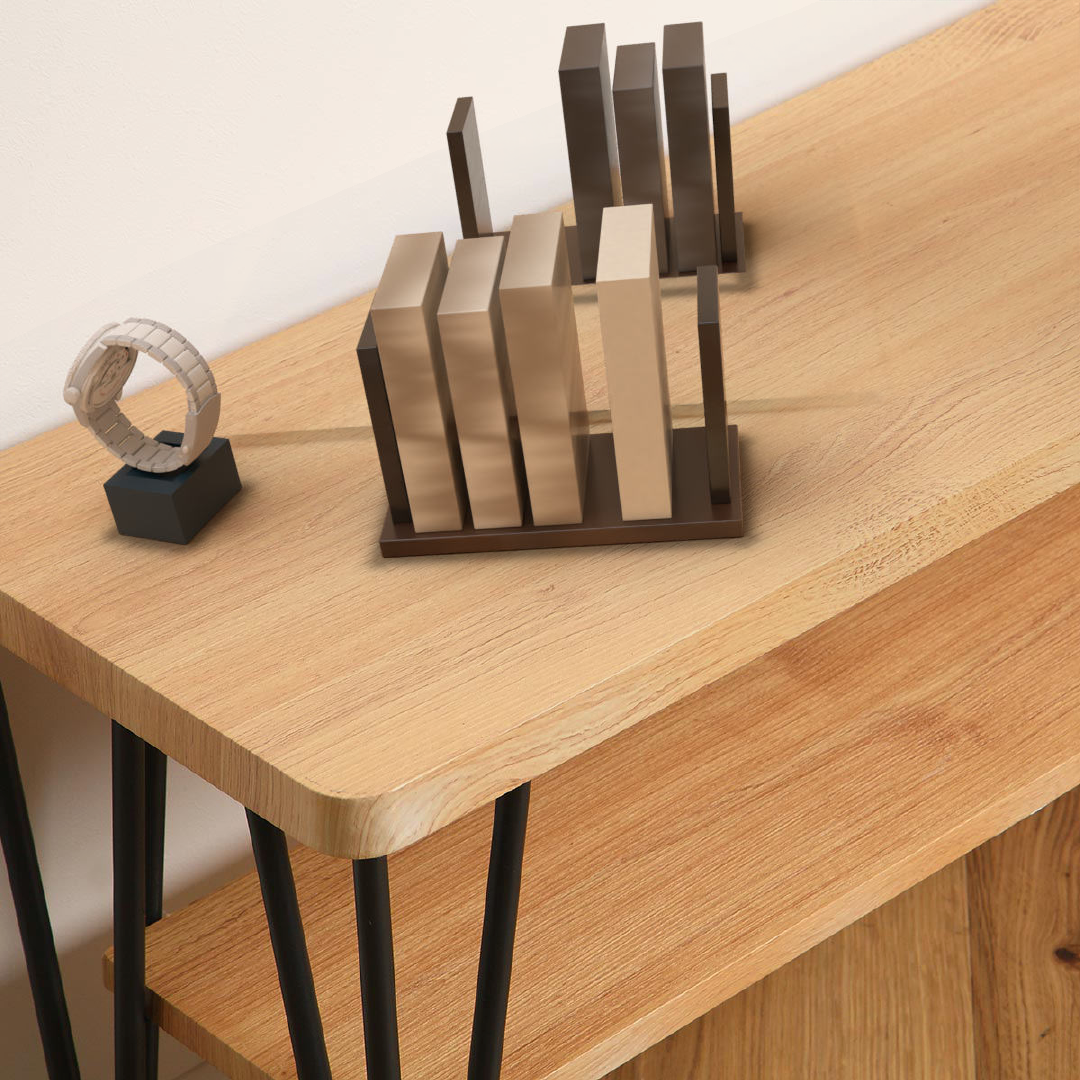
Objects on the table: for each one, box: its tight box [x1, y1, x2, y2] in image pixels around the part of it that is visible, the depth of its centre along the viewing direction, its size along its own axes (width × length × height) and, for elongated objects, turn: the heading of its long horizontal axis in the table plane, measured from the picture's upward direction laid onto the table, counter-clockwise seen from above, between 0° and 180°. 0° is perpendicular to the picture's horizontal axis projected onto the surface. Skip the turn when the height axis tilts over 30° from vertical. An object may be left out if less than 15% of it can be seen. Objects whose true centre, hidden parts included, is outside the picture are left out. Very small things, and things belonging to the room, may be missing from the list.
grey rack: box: [445, 21, 747, 287], centre depth 101 cm, size 18×9×14 cm, turn 86°
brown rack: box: [355, 210, 744, 558], centre depth 80 cm, size 18×9×14 cm, turn 86°
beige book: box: [595, 204, 674, 521], centre depth 79 cm, size 2×8×13 cm, turn 176°
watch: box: [62, 317, 243, 545], centre depth 84 cm, size 6×8×11 cm
